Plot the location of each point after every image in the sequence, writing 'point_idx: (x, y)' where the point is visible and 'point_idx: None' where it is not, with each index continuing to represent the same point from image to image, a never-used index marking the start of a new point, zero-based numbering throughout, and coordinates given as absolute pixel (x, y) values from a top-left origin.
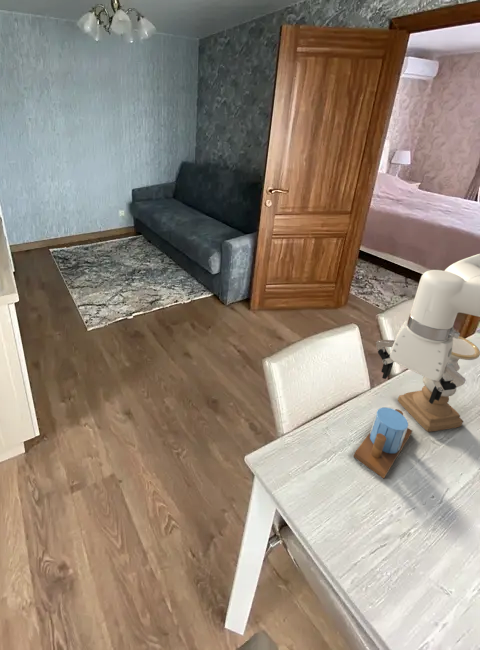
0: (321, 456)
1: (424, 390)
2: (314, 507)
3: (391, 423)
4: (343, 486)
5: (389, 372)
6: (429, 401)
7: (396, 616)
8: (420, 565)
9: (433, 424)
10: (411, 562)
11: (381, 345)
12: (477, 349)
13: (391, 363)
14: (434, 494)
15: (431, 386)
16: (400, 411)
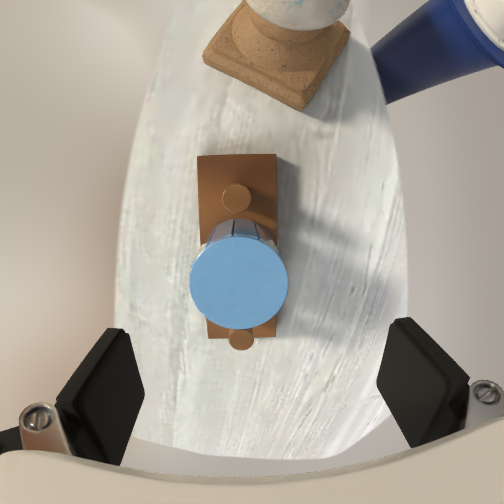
0: (171, 372)
1: (260, 23)
2: (220, 435)
3: (246, 309)
4: (229, 391)
5: (125, 369)
6: (380, 388)
7: (336, 444)
8: (351, 397)
9: (309, 93)
10: (341, 402)
11: None
12: None
13: (94, 434)
14: (354, 282)
15: (285, 19)
16: (239, 188)
